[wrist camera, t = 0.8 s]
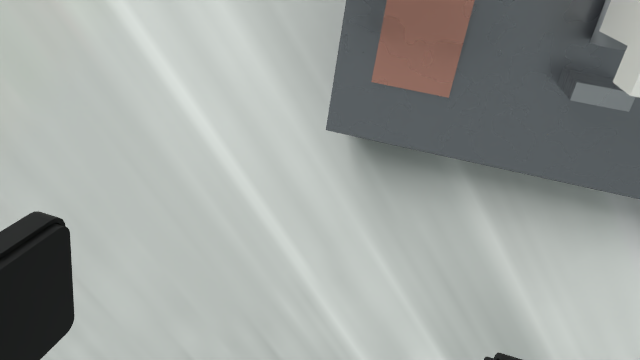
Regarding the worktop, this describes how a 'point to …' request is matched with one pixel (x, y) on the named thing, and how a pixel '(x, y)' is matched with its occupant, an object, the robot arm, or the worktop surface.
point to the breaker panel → (490, 87)
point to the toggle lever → (622, 40)
